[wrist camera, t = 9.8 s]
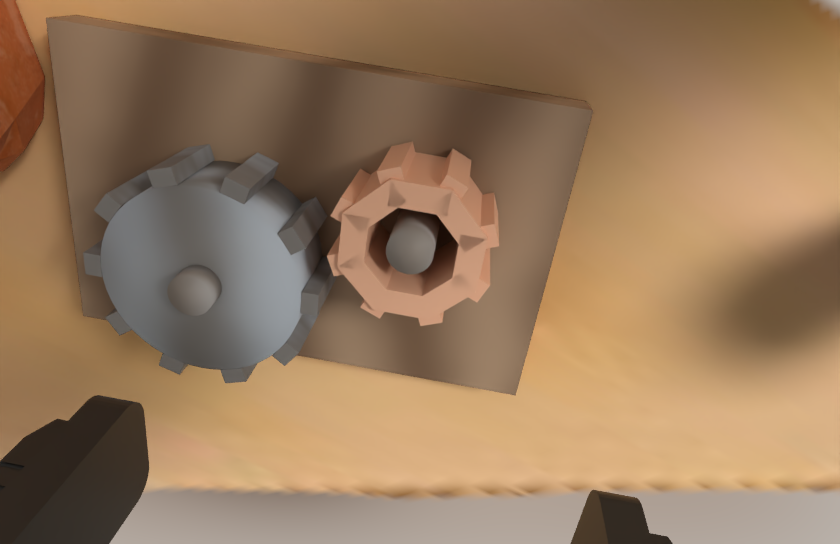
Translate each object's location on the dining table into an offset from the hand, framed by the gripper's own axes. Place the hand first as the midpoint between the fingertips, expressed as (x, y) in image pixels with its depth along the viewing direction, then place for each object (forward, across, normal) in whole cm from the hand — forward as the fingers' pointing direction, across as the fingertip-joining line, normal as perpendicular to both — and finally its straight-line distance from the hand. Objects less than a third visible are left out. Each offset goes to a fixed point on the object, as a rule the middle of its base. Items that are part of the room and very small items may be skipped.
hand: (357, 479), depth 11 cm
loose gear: (+16, 0, +1) cm, 17 cm away
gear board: (+18, +6, +3) cm, 19 cm away
